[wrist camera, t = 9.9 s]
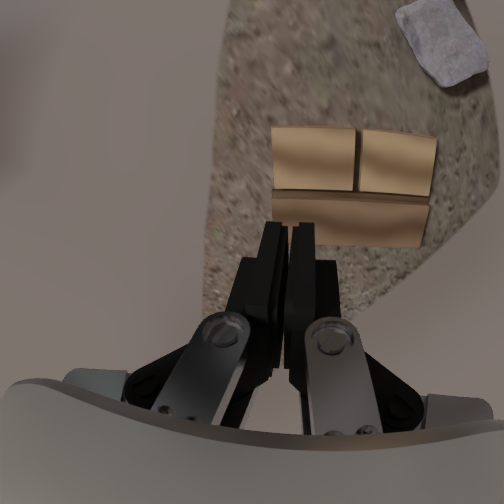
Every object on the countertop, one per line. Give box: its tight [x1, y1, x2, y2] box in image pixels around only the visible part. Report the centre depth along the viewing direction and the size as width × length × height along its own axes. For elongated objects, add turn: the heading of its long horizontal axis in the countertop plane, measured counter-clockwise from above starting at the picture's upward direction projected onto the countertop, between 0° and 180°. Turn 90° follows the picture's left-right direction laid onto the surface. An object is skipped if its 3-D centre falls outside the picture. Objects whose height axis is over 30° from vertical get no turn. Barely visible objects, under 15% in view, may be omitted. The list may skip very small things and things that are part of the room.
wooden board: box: [272, 189, 430, 248], centre depth 38 cm, size 8×22×1 cm, turn 95°
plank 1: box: [271, 126, 355, 191], centre depth 34 cm, size 8×10×1 cm
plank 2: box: [358, 128, 437, 196], centre depth 32 cm, size 8×10×1 cm
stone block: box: [395, 0, 490, 88], centre depth 20 cm, size 12×5×10 cm
